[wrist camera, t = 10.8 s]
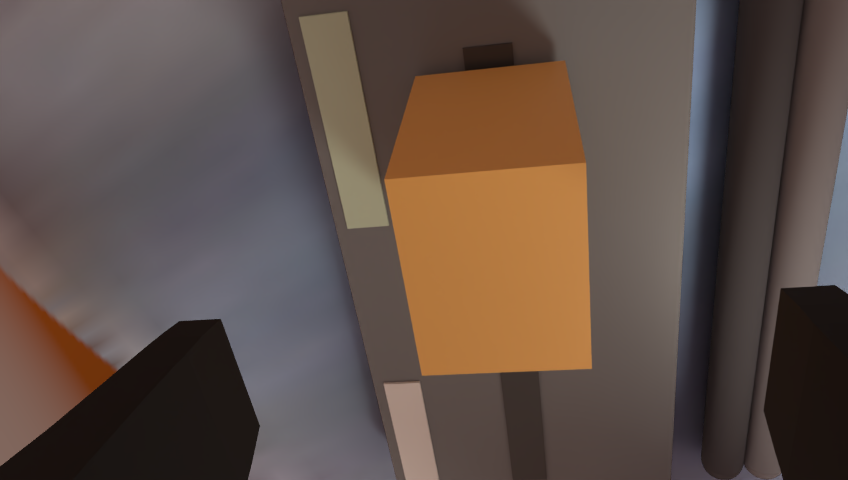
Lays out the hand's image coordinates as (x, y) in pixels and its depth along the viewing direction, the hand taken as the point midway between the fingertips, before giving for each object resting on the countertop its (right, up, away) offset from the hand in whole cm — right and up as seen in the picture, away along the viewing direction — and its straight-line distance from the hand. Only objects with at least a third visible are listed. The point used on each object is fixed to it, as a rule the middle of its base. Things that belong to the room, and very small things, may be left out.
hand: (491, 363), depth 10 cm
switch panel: (+1, +1, +10) cm, 10 cm away
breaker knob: (+1, +3, +6) cm, 7 cm away
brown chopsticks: (+8, +2, +9) cm, 12 cm away
